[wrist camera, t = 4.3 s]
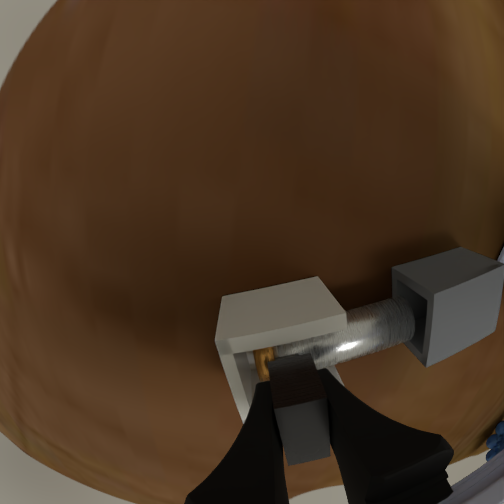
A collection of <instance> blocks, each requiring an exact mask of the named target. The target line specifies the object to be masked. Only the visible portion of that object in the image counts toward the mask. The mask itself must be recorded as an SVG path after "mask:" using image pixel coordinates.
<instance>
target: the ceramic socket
mask: <svg viewBox="0 0 504 504" xmlns="http://www.w3.org/2000/svg"><path fill="white" fill-rule="evenodd" d="M343 329H347V317H346V312H345V310H344V309H343V308H342V307H341V305H340V304H339V303H338V301H337V300H336V299H335V298H334V296H333V295H332V294H331V292H330V291H329V290H328V289H327V287H326V286H325V285H324V284H323V282H322V281H321V280H320V279H319V277H318V276H316V277H312V278H307V279H303V280H298V281H294V282H289V283H285V284H280V285H275V286H271V287H266V288H261V289H256V290H251V291H246V292H241V293H236V294H231V295H226V296H222V300H221V306H220V312H219V318H218V324H217V330H216V336H215V344H216V347H217V350H218V353H219V356H220V359H221V362H222V365H223V368H224V371H225V374H226V377H227V380H228V383H229V386H230V388H231V391H232V394H233V397H234V400H235V402H236V405H237V408H238V411H239V413H240V416H241V419H242V421H243V424H244V422H245V420H246V417H247V415H248V412H249V409H250V407H251V404H252V400H253V397H254V393H255V387H256V384H257V383H259V382H260V380H259V376H258V373H257V369H256V365H255V360H254V355H253V350H257V349H262V348H267V347H272V346H277V345H281V344H286V343H291V342H295V341H299V340H304V339H308V338H312V337H316V336H320V335H324V334H328V333H332V332H336V331H339V330H343ZM323 368H326V369H328V370H329V371H330V372H331V374H332V375H333V376H334V377H335V378H336V379H337V380H338V381H339V382H340V383H341V384H342V385H343V386H344V384H343V382H342V380H341V378H340V376H339V374H338V372H337V370H336V368H335V366H334V365H331V366H327V367H323ZM323 368H319V369H323ZM319 369H317V370H319ZM264 382H265V381H264Z"/></svg>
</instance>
